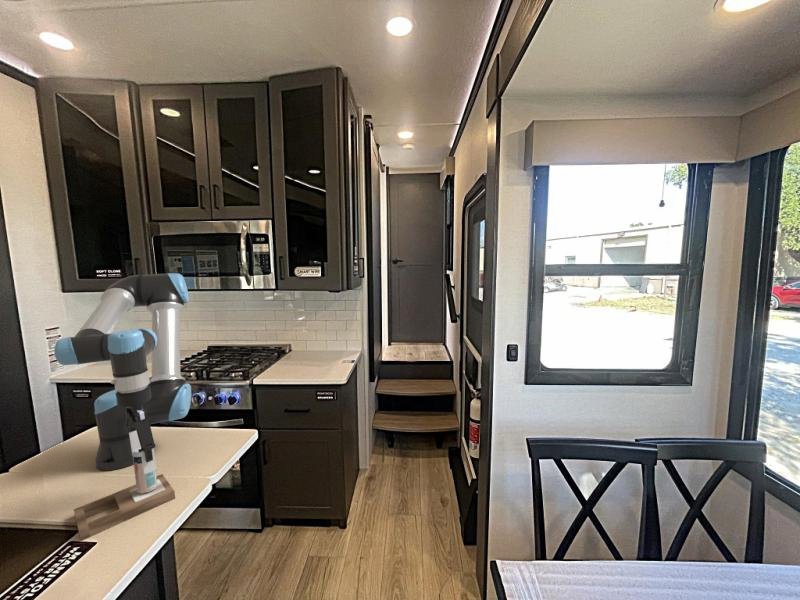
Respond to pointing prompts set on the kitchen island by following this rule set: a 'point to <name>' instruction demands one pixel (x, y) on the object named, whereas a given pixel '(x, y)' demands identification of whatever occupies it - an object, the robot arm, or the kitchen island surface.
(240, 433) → the kitchen island surface
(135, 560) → the kitchen island surface
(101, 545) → the kitchen island surface
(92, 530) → the pocket board
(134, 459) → the beer can
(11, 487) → the kitchen island surface
